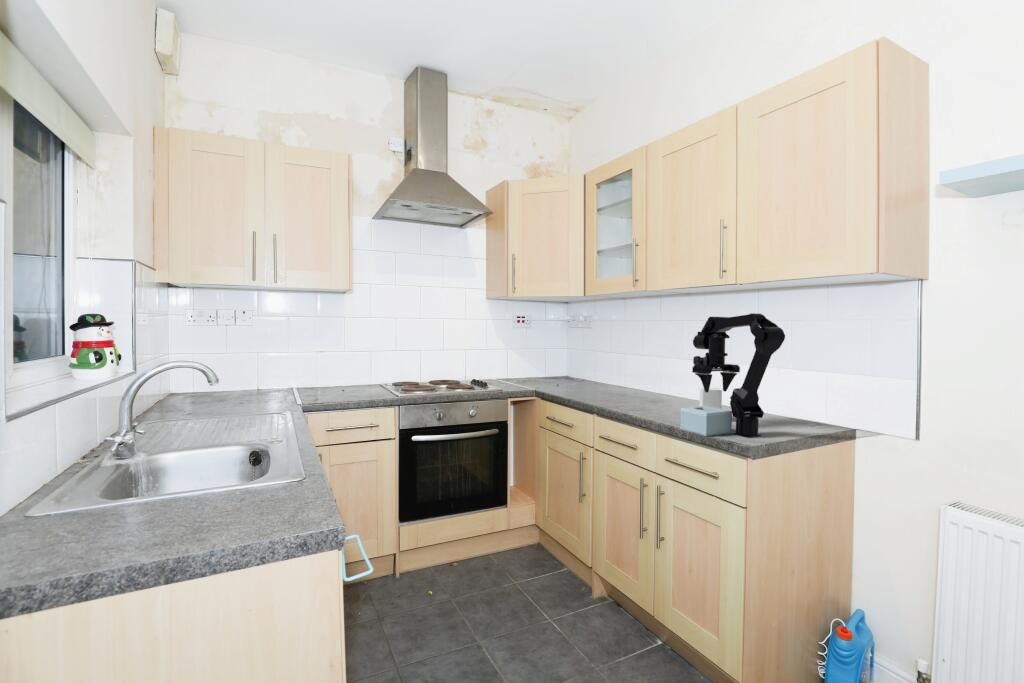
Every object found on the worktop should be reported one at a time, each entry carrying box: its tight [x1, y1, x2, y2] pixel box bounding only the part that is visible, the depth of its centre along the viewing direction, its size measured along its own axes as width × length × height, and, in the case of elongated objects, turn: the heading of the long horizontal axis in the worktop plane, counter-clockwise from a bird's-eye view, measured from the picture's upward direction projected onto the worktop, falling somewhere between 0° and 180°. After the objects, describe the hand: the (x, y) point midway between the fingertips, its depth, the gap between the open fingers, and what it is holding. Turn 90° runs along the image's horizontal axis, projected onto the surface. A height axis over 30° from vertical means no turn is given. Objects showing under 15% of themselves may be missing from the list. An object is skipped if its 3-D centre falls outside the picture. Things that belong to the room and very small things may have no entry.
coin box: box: [679, 405, 733, 438], centre depth 181 cm, size 12×12×8 cm
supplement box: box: [698, 387, 723, 409], centre depth 203 cm, size 7×7×13 cm
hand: (715, 391), depth 191 cm, fingers open, 9 cm apart
